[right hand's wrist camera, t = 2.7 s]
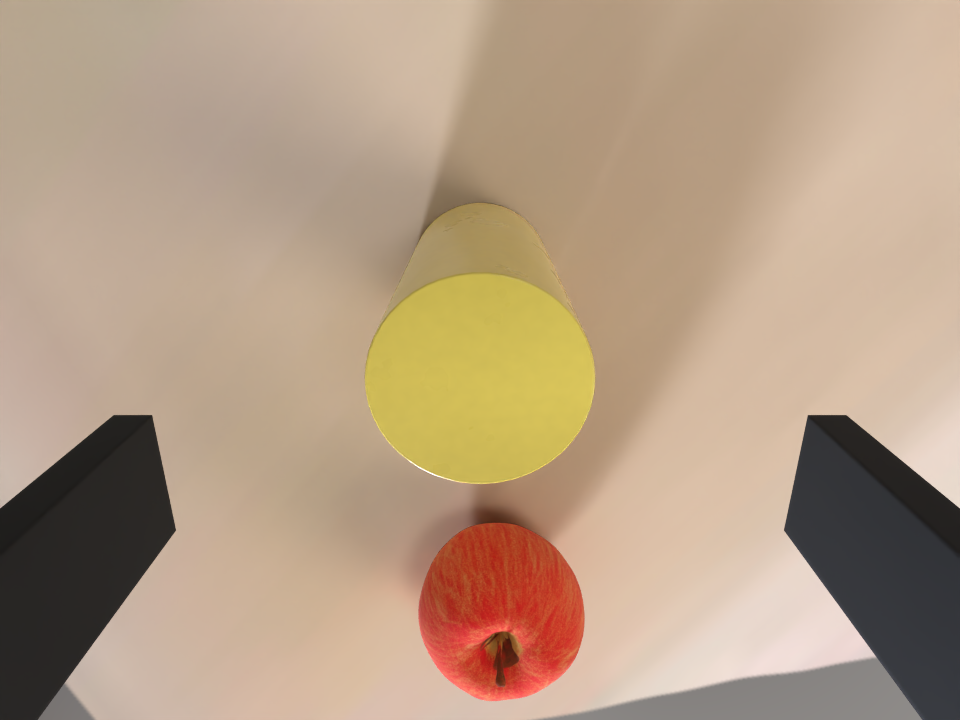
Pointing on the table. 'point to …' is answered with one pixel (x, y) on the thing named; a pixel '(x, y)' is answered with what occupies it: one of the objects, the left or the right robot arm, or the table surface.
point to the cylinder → (480, 352)
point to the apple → (501, 612)
